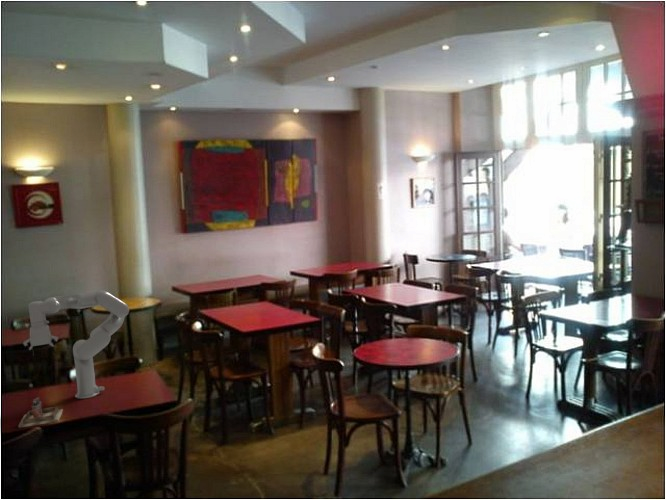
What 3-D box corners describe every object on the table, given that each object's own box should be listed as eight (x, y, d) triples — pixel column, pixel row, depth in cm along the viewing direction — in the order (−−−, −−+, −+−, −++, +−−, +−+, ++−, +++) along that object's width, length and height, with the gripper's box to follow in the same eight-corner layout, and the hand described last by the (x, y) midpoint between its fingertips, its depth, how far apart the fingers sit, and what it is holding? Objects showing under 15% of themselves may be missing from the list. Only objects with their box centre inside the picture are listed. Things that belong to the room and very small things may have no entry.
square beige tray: (62, 411, 318) (62, 405, 318) (58, 421, 303) (57, 415, 302) (25, 416, 313) (24, 410, 313) (18, 427, 298) (18, 421, 297)
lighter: (38, 420, 302) (36, 401, 301) (31, 421, 302) (29, 402, 301) (44, 415, 310) (42, 396, 309) (37, 415, 310) (35, 396, 309)
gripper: (56, 320, 334) (60, 350, 336) (22, 325, 329) (26, 356, 330) (55, 323, 327) (59, 353, 329) (20, 327, 322) (24, 359, 323)
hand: (42, 354), depth 330 cm, fingers open, 9 cm apart
